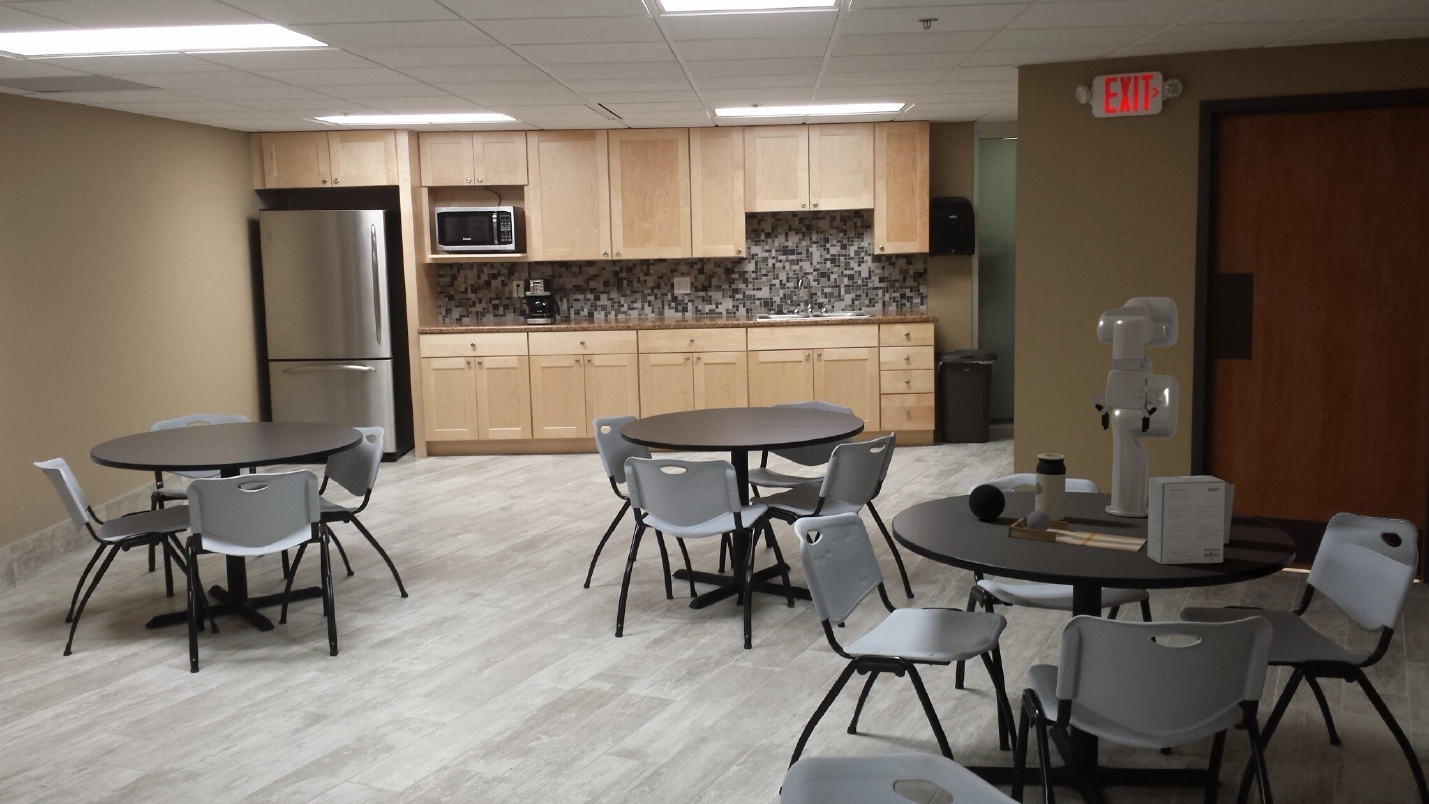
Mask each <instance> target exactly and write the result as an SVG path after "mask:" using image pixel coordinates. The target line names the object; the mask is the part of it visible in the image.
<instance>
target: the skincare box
mask: <svg viewBox="0 0 1429 804" xmlns="http://www.w3.org/2000/svg"><path fill="white" fill-rule="evenodd" d="M1235 487H1236V485H1235V484H1233V483H1230V482H1226V493H1225V520H1224V545H1225V543H1226V544H1229V542H1230V532H1231V525H1232V524H1231V523H1232V515H1233V507H1234V506H1233V505H1234V498H1235V497H1234V496H1235V491H1236V489H1235Z"/></svg>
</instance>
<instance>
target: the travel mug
mask: <svg viewBox="0 0 1429 804" xmlns="http://www.w3.org/2000/svg"><path fill="white" fill-rule="evenodd" d="M1037 458H1038V463H1037V465H1036V466H1035V469H1036V470H1035V495H1034V496H1035V500H1034V502H1035V504H1034V511H1043V512H1045V513H1046V514H1047V515H1048V516H1049V518H1050V520H1060V521H1063V520H1064V519H1065V511H1066V507H1065V506H1066V505H1065V504H1066V483H1067V482H1066V480H1067V479H1066V478H1067V477H1066V476H1067V467H1066V465H1065V458H1066V456H1065V455H1064V454H1059V453H1040V454H1038V455H1037Z"/></svg>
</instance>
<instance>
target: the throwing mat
mask: <svg viewBox="0 0 1429 804" xmlns="http://www.w3.org/2000/svg"><path fill="white" fill-rule="evenodd" d="M1027 518H1028V516H1027V517H1026V516H1022V517H1021V518H1020V519H1018V520H1017V521H1015V522H1014V523H1012V524H1011V525H1009V527H1008V537H1009V536H1010V537H1009V538H1014V537H1016V538H1015V539H1022V538H1024V540H1030V539H1032V540H1033V541H1040V542H1047V541H1051V542H1050V543H1056V544H1064V543H1067V545H1072V544H1074V545H1075V546H1081V545H1083V546H1082V547H1091V548H1098V549H1099V548H1100V549H1108V550H1115V551H1123V552H1132V553H1138V552H1139V551H1140V550H1141V548H1142V547H1143V546H1144V545H1145V543H1146V542H1148V538H1142V537H1141V538H1139V537H1132V536H1122V535H1114V534H1105V533H1096V532H1086V531H1081V530H1075V531H1076V532H1070V531H1072V530H1071V529H1069V522H1068V521H1066V520H1064V521H1063V520H1060V521H1057V520H1050V526H1049V528H1048V530H1046V531H1044V530H1035V529H1029V528H1028V526H1027ZM1054 531H1055V532H1054ZM1057 531H1058V532H1057ZM1077 531H1078V532H1077ZM1025 538H1026V539H1025ZM1057 542H1058V543H1057ZM1074 545H1073V546H1074Z"/></svg>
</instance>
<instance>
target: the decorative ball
mask: <svg viewBox="0 0 1429 804" xmlns="http://www.w3.org/2000/svg"><path fill="white" fill-rule="evenodd" d="M968 506H969V509H970V511H971V513H972V514H973V515H974V516H975V517H976V518H978V519H980V520H984V521H990V520H991V521H992V520H994V519H997V518H999V517H1000V515H1002V514H1003V512H1004V510H1005V508H1006V498H1005V495H1004V493H1003V492H1002V490H1001V489H1000V488H998V487H997V486H995V485H992V484H987V483H985V484H980V485H978V486H976V487H975V488H974V489H973V490H972V491H971V493H970V494H969V497H968Z"/></svg>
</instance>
